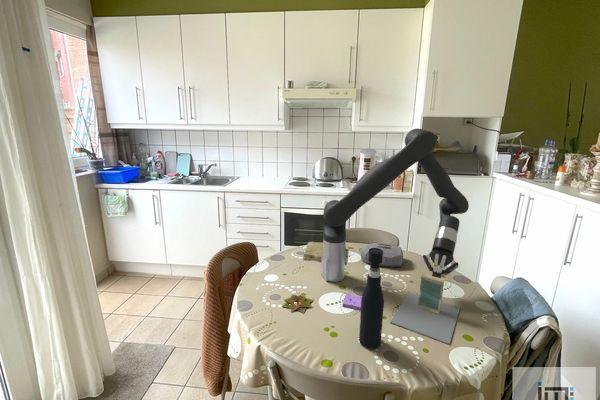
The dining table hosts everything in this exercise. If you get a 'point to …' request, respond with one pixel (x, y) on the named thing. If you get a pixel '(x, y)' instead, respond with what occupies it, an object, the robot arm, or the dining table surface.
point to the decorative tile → (314, 251)
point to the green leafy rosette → (298, 299)
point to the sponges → (352, 301)
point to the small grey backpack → (384, 254)
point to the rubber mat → (426, 319)
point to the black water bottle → (372, 303)
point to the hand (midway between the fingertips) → (434, 283)
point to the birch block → (431, 293)
